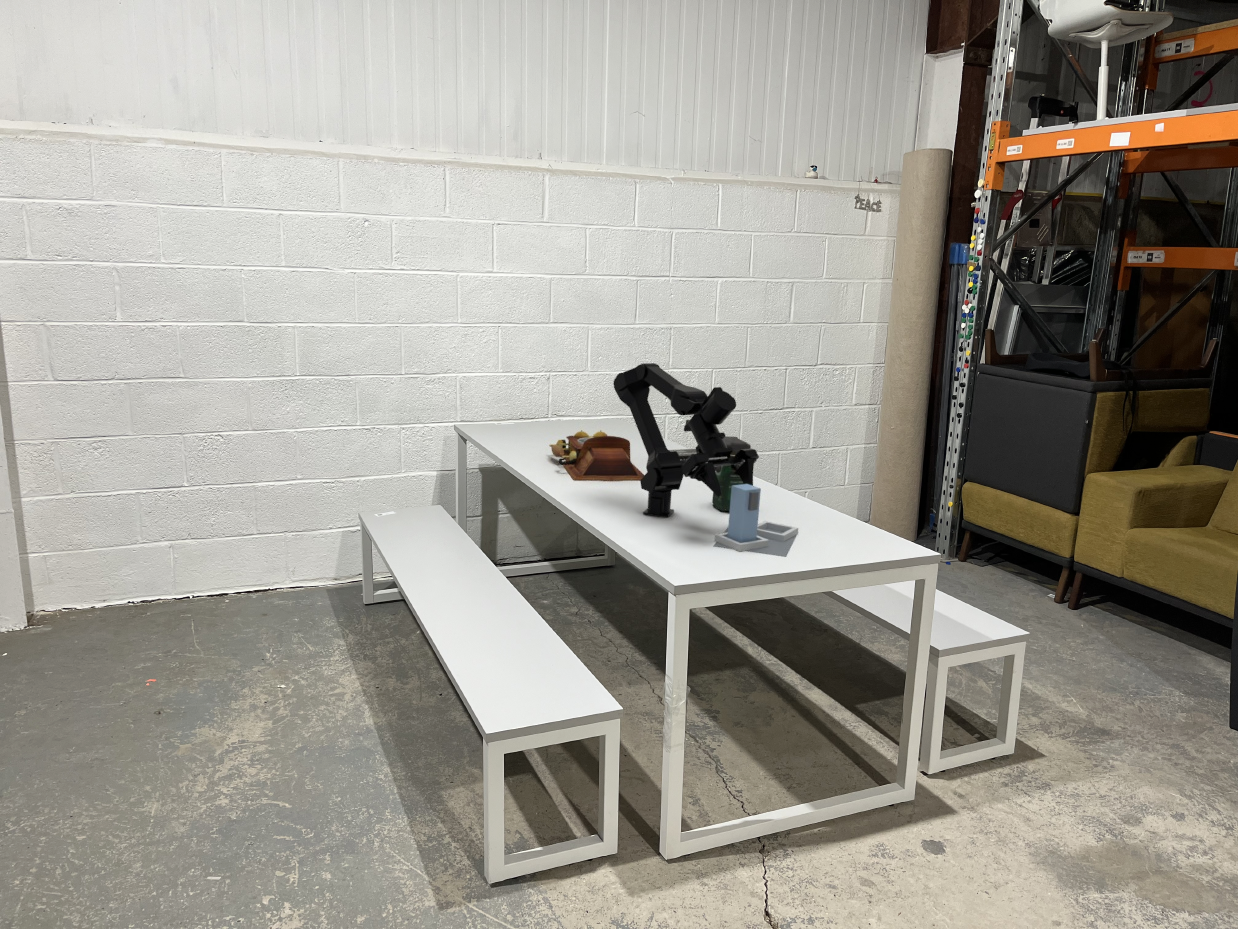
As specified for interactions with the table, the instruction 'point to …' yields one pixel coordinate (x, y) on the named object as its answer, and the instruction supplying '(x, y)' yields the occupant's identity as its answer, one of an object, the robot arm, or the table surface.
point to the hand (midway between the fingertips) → (735, 493)
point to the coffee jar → (728, 475)
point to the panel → (772, 546)
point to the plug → (744, 513)
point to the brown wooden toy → (596, 457)
